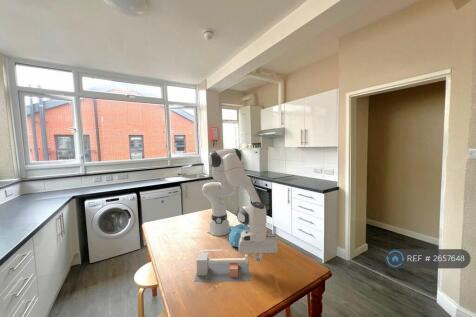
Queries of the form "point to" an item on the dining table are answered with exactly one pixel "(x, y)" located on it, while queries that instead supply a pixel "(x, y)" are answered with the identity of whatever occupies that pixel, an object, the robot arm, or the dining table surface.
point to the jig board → (219, 271)
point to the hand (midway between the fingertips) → (257, 260)
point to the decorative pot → (236, 234)
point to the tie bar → (229, 260)
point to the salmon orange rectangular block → (233, 269)
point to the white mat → (212, 250)
